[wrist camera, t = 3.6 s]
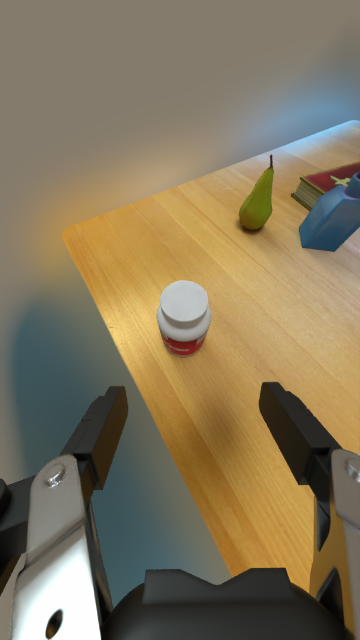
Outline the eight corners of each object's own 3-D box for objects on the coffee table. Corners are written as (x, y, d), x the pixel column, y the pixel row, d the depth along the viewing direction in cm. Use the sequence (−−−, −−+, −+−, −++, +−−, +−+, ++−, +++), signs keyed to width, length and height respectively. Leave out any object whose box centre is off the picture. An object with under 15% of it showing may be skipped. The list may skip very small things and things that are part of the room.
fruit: (269, 231, 36) (306, 160, 26) (244, 238, 36) (270, 167, 25) (254, 214, 39) (282, 143, 28) (230, 220, 38) (249, 149, 28)
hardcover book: (393, 201, 41) (415, 181, 37) (325, 223, 37) (341, 203, 34) (353, 177, 46) (369, 157, 42) (290, 195, 42) (301, 175, 39)
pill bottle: (155, 341, 26) (138, 303, 16) (180, 313, 28) (179, 265, 18) (187, 366, 24) (190, 342, 14) (211, 335, 26) (228, 294, 16)
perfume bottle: (299, 227, 37) (347, 156, 26) (329, 231, 36) (391, 159, 26) (302, 247, 34) (357, 176, 24) (334, 251, 34) (406, 180, 23)
